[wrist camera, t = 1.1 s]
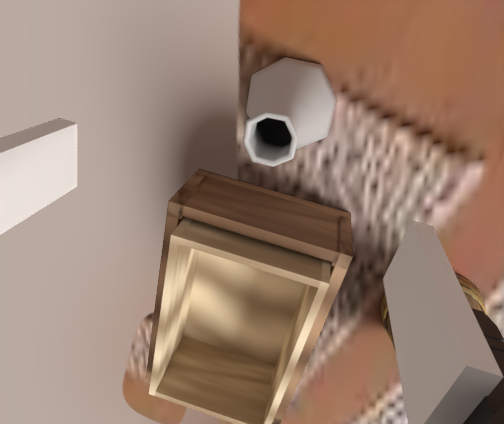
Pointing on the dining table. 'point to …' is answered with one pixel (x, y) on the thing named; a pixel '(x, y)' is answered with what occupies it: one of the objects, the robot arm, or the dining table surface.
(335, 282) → the wooden drawer box
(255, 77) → the flask
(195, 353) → the pine crate
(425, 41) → the dining table surface
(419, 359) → the robot arm
